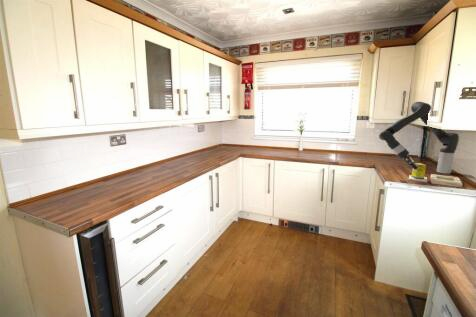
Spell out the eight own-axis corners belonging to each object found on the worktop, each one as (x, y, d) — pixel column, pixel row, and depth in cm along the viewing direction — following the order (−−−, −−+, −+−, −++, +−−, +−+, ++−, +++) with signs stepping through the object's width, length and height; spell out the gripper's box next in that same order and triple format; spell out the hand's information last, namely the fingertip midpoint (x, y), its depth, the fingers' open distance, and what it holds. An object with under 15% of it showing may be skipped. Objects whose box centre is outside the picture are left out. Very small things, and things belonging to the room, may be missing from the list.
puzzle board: (430, 177, 185) (430, 174, 184) (457, 180, 175) (458, 177, 175) (431, 183, 169) (432, 179, 168) (461, 187, 160) (462, 183, 159)
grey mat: (409, 176, 187) (409, 175, 187) (426, 178, 181) (426, 177, 180) (408, 179, 178) (408, 178, 177) (427, 182, 171) (427, 181, 171)
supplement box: (424, 179, 176) (426, 164, 173) (415, 178, 177) (417, 164, 175) (419, 177, 181) (422, 163, 179) (411, 176, 183) (413, 162, 180)
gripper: (404, 149, 175) (421, 166, 171) (405, 147, 186) (421, 163, 182) (395, 155, 179) (411, 172, 175) (396, 153, 190) (411, 168, 186)
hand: (416, 167), depth 178 cm, fingers open, 8 cm apart
